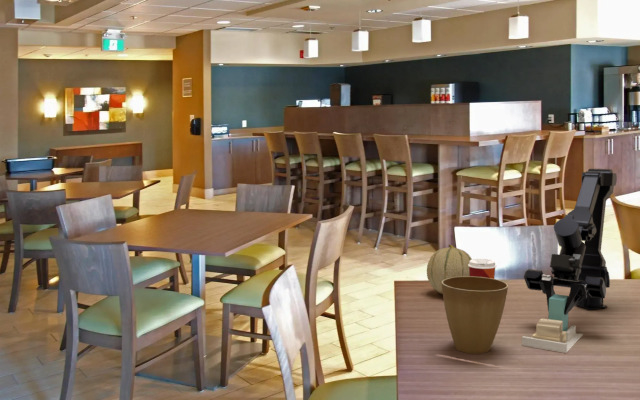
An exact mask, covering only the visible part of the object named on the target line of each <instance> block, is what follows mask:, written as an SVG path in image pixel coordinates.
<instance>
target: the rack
mask: <svg viewBox="0 0 640 400" xmlns="http://www.w3.org/2000/svg"><path fill="white" fill-rule="evenodd" d="M576 328H577V326H576V325H571V326H570V327H568V330H567V331H566V343H561V342H555V341H549V340H543V339H537V338H532V336H531V337H530V336H524V335H523V336H522V337H521V346H523V347H528V348H534V349H541V350H546V351H552V352H557V353H563V354H567V352H569V350H571V349H572V347H573V346H574V345H575V344H576V343H577V342H578V340H580V338H582V337H583V335H584V334H583V333H577V332H576V330H577V329H576Z"/></svg>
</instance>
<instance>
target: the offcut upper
mask: <svg viewBox="0 0 640 400" xmlns="http://www.w3.org/2000/svg"><path fill="white" fill-rule="evenodd" d="M535 328H536V331H535V332H536V336H543V337H551V338H559V337H560V335H561V333H562V330H563V321H559V320H550V319H547V318H540V319H539V320H538V322H537V323H536V327H535Z"/></svg>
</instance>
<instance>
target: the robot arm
mask: <svg viewBox="0 0 640 400" xmlns="http://www.w3.org/2000/svg"><path fill="white" fill-rule="evenodd" d="M613 171H614V170H613V168H610V169H609V168H588V170H587V171H585V172H583V171H582V172H581V182H580V184H581V186H580V189H579V193H578V195H577V199H576V203H575V206H574V209H572V210H571V211H569V212H568V213H567V214H564V218H560V219H558V220H557V221H556V222H555V223H554V224H553V229H554V230H553V231H554V233H555V236H556V241H557V243H558V246H559V247H561V248H560V251H559V254H557V253H556V254H555V253H552V254H551V257H550V264H549V268H551V275H550V274H549V275H548V274H544V273H543V270H540V269H530V268H528V269H526V270H525V272H524V275H523V279H524V282H525V285H526V288H527V289H529V290H531V291H540V292H542V294H544V295H546V305H547V311H548V313H549V298H550V297H552V296H553V295H554V294H556V292H555V290H554V288H555V287H561V288H570V291H569V294H568V296H569V297H568V299H567V302H566V305H565V310H564V314H565V315H567V314H568V315H569V313H570V312H571V310H572V309H573V308H574V307H575V306H577V307H580V308H583V309H586V310H588V311H593V310H599V309H600V310H601V309H605V308H606V309H607V308H608V305H606V304H604V299H605V298H606V293H607V289H609V288H610V286H611V279H610V273H609V271H608V270H609V269H608V267H607V265H606V259H605V257H604V255H603V253H602V243H603V233H604V225H605V224H604V223H605V215H606V203H607V201H608V199H609V198H610V197H611V196H612V194H613V193H614V189H615V186H616V185H617V179H618V176H617V173H615V172H613ZM552 275H553V276H552Z"/></svg>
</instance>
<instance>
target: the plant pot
mask: <svg viewBox="0 0 640 400" xmlns="http://www.w3.org/2000/svg"><path fill="white" fill-rule="evenodd" d="M508 288H509V285H508V283H507V282H505V281H503V280H499V279H496V278H494V279H492V278H485V277H474V276H463V277H452V278H447V279H444V280H443V281H442V291H443V294H442V297H443V298H442V299H443V304H444V310H445V314H446V315H445V316H446V319H447V323H448V327H449V331H450V336H451V338H452V341H453V344H454V347H455V349H456V350H458V351H459V352H461V353H462V352H463V353H466V354H472V355H474V354H476V355H477V354H479V355H480V354H484V353H488V352H489V351H490V349H491V348H492V345H493V343H494V340H495V338H496V335H497V332H498V329H499V326H500V325H501V320H502V317H503V313H504V308H505V305H506V300H507V295H508Z"/></svg>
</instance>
